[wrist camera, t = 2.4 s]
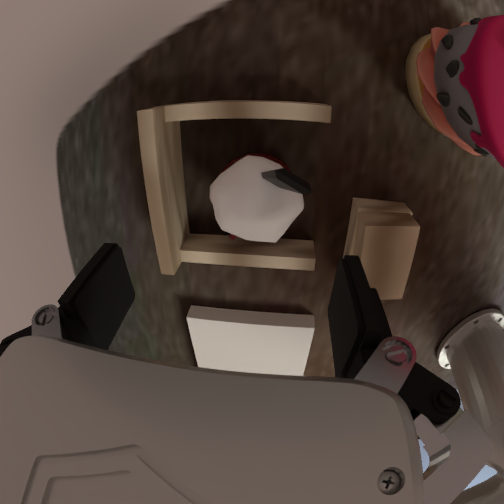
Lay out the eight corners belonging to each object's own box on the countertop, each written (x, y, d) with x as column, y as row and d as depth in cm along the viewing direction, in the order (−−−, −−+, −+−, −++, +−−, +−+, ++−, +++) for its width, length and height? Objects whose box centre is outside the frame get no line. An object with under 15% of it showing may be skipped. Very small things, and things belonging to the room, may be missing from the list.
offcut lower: (402, 201, 23) (412, 212, 21) (384, 272, 27) (390, 287, 25) (352, 195, 23) (358, 207, 21) (339, 270, 28) (342, 286, 25)
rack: (325, 104, 19) (336, 108, 15) (311, 251, 26) (315, 285, 22) (165, 104, 20) (136, 111, 16) (179, 243, 27) (161, 273, 23)
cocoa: (246, 230, 26) (218, 334, 17) (200, 180, 24) (139, 267, 14) (333, 174, 22) (364, 266, 12) (287, 112, 20) (285, 155, 10)
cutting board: (313, 314, 31) (314, 328, 29) (297, 386, 39) (296, 397, 38) (191, 305, 32) (186, 317, 30) (206, 377, 41) (204, 388, 39)
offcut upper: (408, 212, 21) (420, 226, 19) (394, 281, 24) (401, 298, 22) (358, 211, 21) (365, 225, 19) (349, 283, 25) (353, 301, 23)
